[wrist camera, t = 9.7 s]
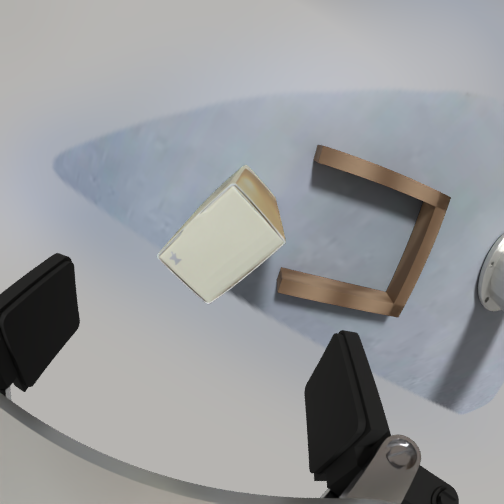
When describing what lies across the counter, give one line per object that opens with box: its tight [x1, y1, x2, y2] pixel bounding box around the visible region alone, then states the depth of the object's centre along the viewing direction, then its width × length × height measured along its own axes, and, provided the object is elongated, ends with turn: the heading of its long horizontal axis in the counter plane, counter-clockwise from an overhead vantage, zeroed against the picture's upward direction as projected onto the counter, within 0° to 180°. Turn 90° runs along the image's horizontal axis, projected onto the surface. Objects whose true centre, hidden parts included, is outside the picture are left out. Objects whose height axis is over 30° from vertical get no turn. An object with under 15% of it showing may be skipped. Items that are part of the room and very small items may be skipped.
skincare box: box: [157, 165, 286, 304], centre depth 21 cm, size 6×4×12 cm
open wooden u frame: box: [277, 145, 451, 317], centre depth 26 cm, size 14×14×2 cm
